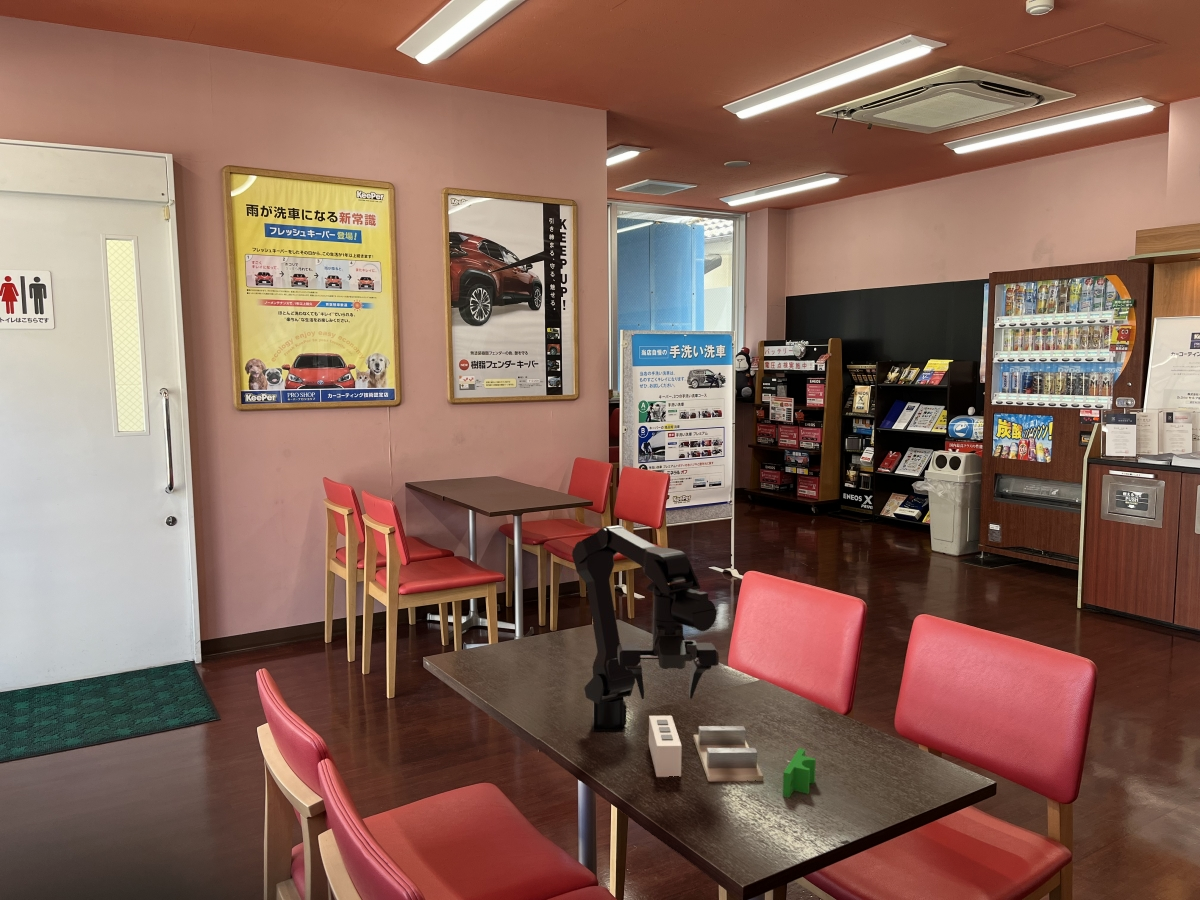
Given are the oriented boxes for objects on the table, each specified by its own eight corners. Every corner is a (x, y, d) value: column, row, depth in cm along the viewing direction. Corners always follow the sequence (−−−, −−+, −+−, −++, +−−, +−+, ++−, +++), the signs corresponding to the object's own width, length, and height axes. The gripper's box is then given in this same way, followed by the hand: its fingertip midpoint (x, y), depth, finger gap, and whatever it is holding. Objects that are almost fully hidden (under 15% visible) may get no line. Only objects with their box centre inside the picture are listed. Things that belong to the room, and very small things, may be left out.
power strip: (656, 777, 154) (657, 744, 153) (648, 744, 168) (649, 714, 167) (680, 777, 154) (681, 744, 154) (671, 744, 168) (671, 714, 167)
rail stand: (708, 781, 152) (708, 760, 152) (693, 739, 170) (693, 720, 170) (763, 781, 153) (763, 759, 152) (742, 739, 170) (742, 720, 170)
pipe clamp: (804, 802, 145) (804, 777, 145) (782, 797, 147) (783, 772, 147) (818, 775, 155) (819, 751, 155) (798, 771, 157) (799, 747, 157)
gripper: (622, 630, 150) (621, 715, 152) (725, 630, 151) (723, 714, 153) (617, 613, 161) (616, 692, 163) (713, 613, 162) (712, 691, 164)
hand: (666, 698), depth 160 cm, fingers open, 9 cm apart
